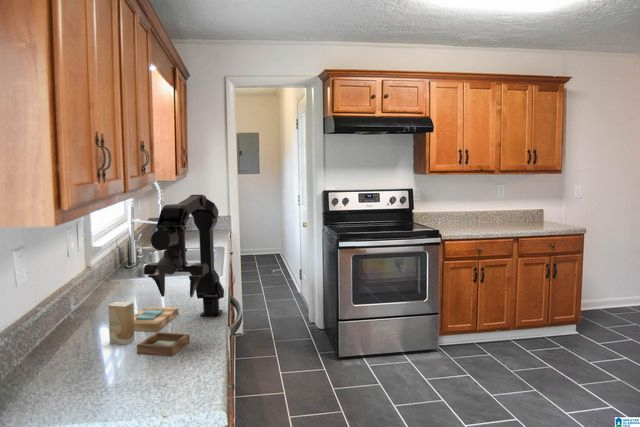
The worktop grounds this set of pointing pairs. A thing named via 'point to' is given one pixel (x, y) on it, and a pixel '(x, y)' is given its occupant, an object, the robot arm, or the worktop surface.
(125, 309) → the skincare box
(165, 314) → the shallow wooden box
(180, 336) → the tray
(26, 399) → the worktop surface
